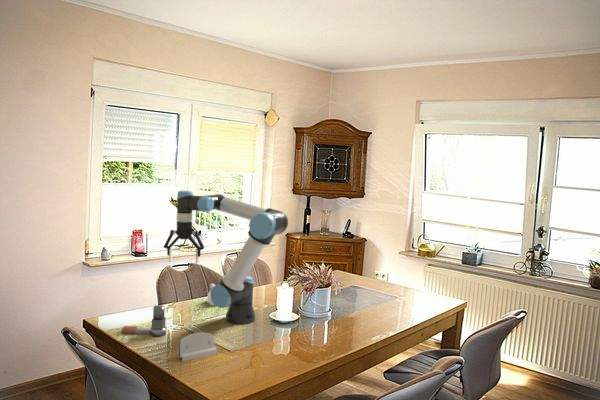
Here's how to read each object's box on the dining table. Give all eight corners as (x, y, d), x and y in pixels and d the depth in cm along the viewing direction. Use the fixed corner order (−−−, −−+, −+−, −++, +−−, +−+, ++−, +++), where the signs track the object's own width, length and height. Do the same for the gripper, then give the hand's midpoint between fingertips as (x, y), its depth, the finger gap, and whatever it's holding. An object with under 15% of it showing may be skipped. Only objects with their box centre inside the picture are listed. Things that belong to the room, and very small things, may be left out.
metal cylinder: (165, 326, 247) (165, 305, 246) (162, 329, 242) (162, 308, 241) (154, 325, 247) (155, 305, 246) (151, 329, 242) (152, 308, 241)
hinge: (182, 361, 216) (179, 336, 217) (177, 361, 219) (174, 336, 221) (218, 353, 226) (215, 329, 228) (213, 353, 230) (210, 330, 231)
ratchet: (167, 331, 248) (168, 318, 248) (163, 337, 241) (164, 323, 241) (125, 329, 248) (125, 316, 248) (120, 334, 241) (120, 321, 241)
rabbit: (226, 305, 295) (227, 284, 294) (212, 308, 288) (213, 286, 287) (213, 299, 303) (214, 279, 302) (200, 302, 297) (200, 281, 296)
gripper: (210, 221, 271) (209, 261, 273) (162, 219, 271) (161, 259, 273) (207, 223, 263) (206, 264, 265) (157, 221, 263) (157, 262, 265)
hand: (183, 262), depth 269 cm, fingers open, 13 cm apart
